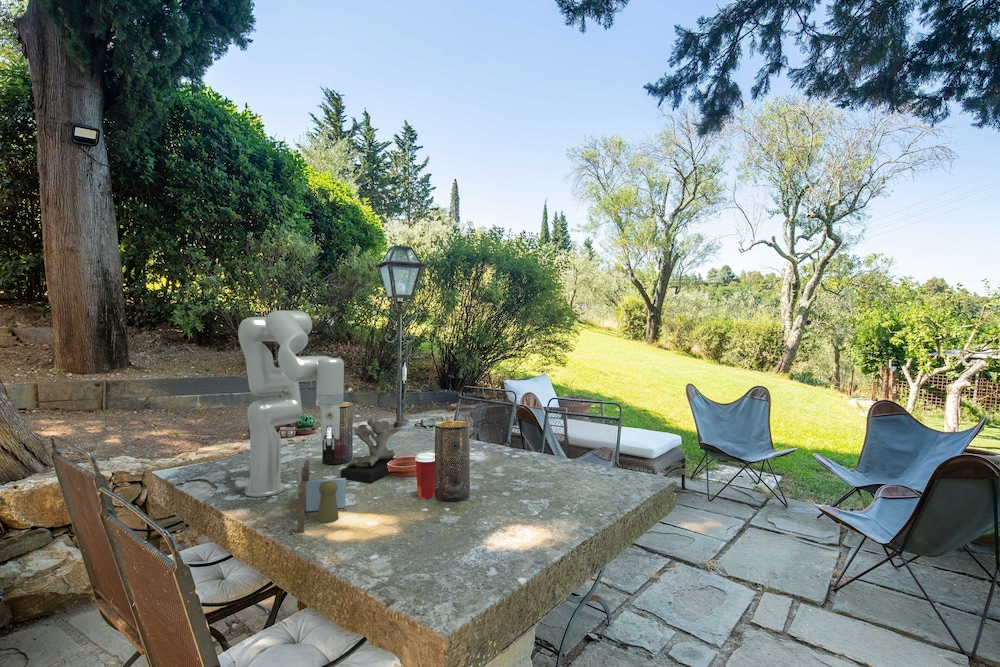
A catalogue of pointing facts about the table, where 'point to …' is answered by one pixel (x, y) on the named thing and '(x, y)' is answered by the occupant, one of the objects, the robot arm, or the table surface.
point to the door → (314, 495)
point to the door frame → (302, 496)
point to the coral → (373, 452)
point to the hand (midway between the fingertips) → (329, 458)
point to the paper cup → (425, 475)
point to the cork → (328, 502)
